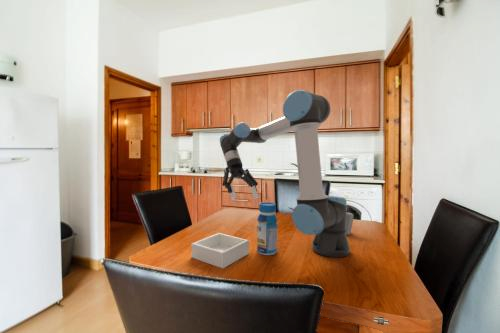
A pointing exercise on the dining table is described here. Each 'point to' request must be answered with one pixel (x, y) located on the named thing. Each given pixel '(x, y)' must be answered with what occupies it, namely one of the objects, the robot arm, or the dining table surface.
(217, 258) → the box
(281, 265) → the dining table surface
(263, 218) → the beverage bottle
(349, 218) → the digital clock
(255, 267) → the dining table surface
